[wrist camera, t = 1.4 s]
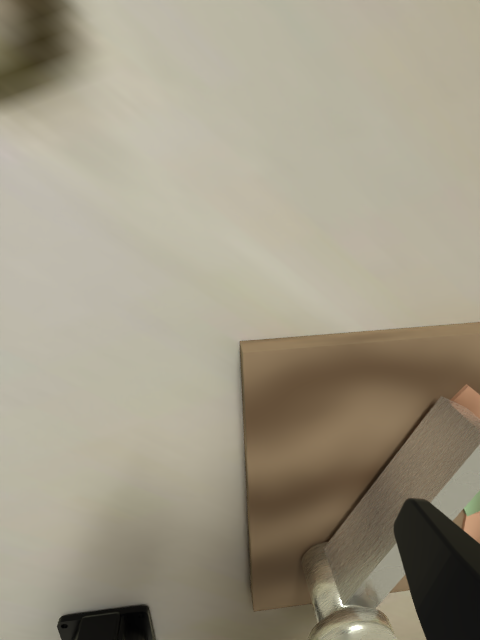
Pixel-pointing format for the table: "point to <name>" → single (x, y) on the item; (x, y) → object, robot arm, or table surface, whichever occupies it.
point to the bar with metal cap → (391, 524)
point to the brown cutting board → (337, 434)
